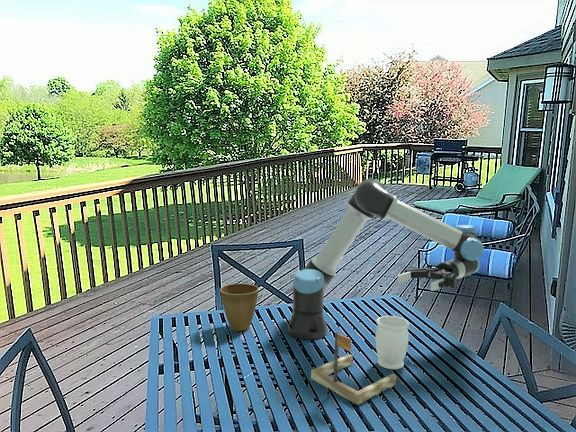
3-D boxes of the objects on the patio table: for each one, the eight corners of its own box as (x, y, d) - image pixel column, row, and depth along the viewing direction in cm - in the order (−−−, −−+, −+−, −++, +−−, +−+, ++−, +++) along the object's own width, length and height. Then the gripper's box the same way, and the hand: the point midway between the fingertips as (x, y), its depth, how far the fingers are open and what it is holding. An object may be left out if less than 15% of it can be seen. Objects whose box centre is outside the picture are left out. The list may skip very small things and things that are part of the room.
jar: (408, 360, 160) (410, 317, 157) (405, 373, 150) (408, 329, 148) (376, 355, 163) (378, 313, 161) (372, 368, 153) (374, 324, 151)
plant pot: (265, 324, 189) (265, 286, 187) (246, 337, 176) (246, 296, 174) (233, 318, 196) (233, 280, 193) (213, 330, 182) (212, 290, 180)
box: (348, 362, 157) (350, 311, 154) (395, 384, 143) (398, 328, 140) (311, 379, 146) (312, 323, 143) (357, 405, 132) (360, 344, 129)
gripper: (481, 287, 165) (446, 301, 152) (421, 274, 184) (386, 286, 171) (481, 266, 163) (446, 279, 151) (421, 255, 183) (385, 266, 170)
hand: (414, 282), depth 161 cm, fingers open, 13 cm apart
